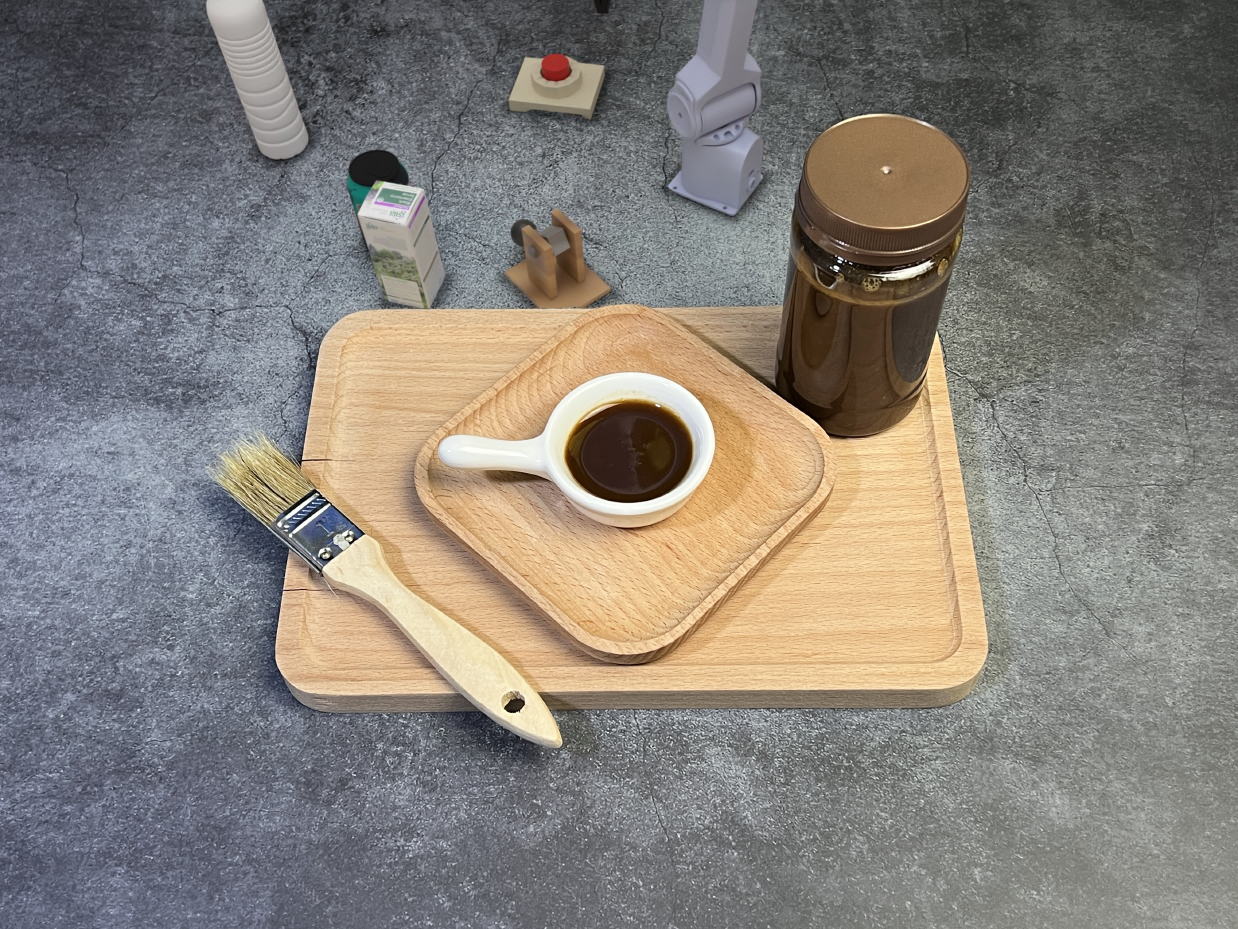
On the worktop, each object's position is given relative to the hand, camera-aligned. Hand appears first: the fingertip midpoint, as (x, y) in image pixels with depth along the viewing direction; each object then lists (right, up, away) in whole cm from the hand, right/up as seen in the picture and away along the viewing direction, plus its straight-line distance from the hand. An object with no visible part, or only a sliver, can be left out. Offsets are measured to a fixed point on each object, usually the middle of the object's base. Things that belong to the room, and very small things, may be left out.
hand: (603, 8), depth 140 cm
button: (-6, -7, +5) cm, 10 cm away
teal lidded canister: (-25, -31, -7) cm, 41 cm away
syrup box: (-22, -38, -11) cm, 45 cm away
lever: (-7, -33, -14) cm, 37 cm away
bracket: (-5, -37, -12) cm, 39 cm away
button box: (-6, -8, +7) cm, 13 cm away
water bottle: (-41, -15, +4) cm, 44 cm away
